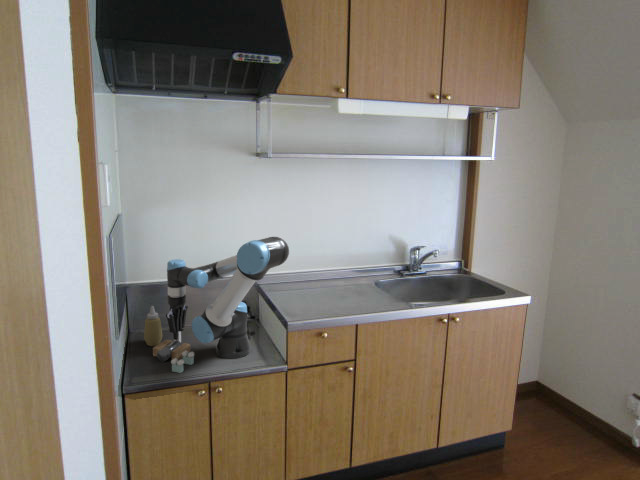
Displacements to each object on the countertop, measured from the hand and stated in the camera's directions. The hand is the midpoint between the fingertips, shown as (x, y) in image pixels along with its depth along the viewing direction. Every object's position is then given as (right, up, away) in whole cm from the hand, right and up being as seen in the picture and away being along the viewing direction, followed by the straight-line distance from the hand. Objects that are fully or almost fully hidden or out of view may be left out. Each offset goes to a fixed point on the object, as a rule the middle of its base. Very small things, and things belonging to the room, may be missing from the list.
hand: (177, 345), depth 199 cm
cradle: (+7, -5, -15) cm, 18 cm away
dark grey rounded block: (-2, -3, -6) cm, 7 cm away
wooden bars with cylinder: (-1, -3, -4) cm, 5 cm away
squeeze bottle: (-13, -1, +5) cm, 14 cm away
